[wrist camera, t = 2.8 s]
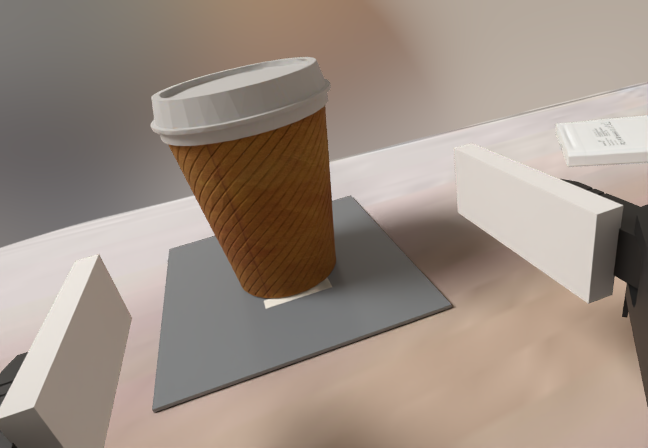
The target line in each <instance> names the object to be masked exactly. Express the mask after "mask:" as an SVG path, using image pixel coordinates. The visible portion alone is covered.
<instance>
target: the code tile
mask: <svg viewBox="0 0 648 448" xmlns="http://www.w3.org/2000/svg"><path fill="white" fill-rule="evenodd" d="M332 211H333V225H334V239H335V253H336V264H335V267H334V269H333V270H332V272H331V273H330V275H329V276H328V277H327V278H326V279H325V280H323V281H322V282H321V283H319V284H318V285H316V286H315V287H313V288H311V289H309V290H307V291H304V292H302V293H299V294H296V295H292V296H288V297H282V298H262V297H256V296H253V295H251V294H249V293H248V292H246V291H245V290H244V289H243V288H242V287H241V284H240V282H239V280H238V278H237V276H236V274H235V272H234V271H233V269H232V266H231V265H230V263H229V261H228V259H227V257H226V255H225V253H224V251H223V249H222V247H221V246H220V244H219V241H218V240H217V238H216V236H212V237H209V238H206V239H202V240H199V241H196V242H192V243H189V244H185V245H182V246H179V247H175V248H172V249H169V258H168V268H167V277H166V286H165V295H164V305H163V314H162V323H161V333H160V342H159V351H158V361H157V370H156V379H155V389H154V398H153V407H152V410H153V412H157V411H160V410H163V409H165V408H168V407H171V406H174V405H177V404H180V403H182V402H185V401H188V400H191V399H194V398H197V397H199V396H202V395H205V394H208V393H211V392H214V391H216V390H219V389H222V388H225V387H228V386H231V385H233V384H236V383H239V382H242V381H245V380H248V379H250V378H253V377H256V376H259V375H262V374H265V373H267V372H270V371H273V370H276V369H279V368H282V367H284V366H287V365H290V364H293V363H296V362H299V361H302V360H304V359H307V358H310V357H313V356H316V355H319V354H321V353H324V352H327V351H330V350H333V349H336V348H338V347H341V346H344V345H347V344H350V343H353V342H355V341H358V340H361V339H364V338H367V337H370V336H372V335H375V334H378V333H381V332H384V331H387V330H389V329H392V328H395V327H398V326H401V325H404V324H406V323H409V322H412V321H415V320H418V319H421V318H423V317H426V316H429V315H432V314H435V313H438V312H440V311H443V310H446V309H449V308H452V305H451V303H450V302H449V301H448V300H447V299H446V298H445V297H444V296H443V295H442V294H441V293H440V292H439V290H438V289H437V288H436V287H435V286H434V285H433V284H432V283H431V282H430V281H429V280H428V279H427V277H426V276H425V275H424V274H423V273H422V272H421V271H420V270H419V269H418V268H417V267H416V266H415V265H414V263H413V262H412V261H411V260H410V259H409V258H408V257H407V256H406V255H405V254H404V253H403V252H402V250H401V249H400V248H399V247H398V246H397V245H396V244H395V243H394V242H393V241H392V240H391V239H390V238H389V236H388V235H387V234H386V233H385V232H384V231H383V230H382V229H381V228H380V227H379V226H378V225H377V223H376V222H375V221H374V220H373V219H372V218H371V217H370V216H369V215H368V214H367V213H366V212H365V211H364V209H363V208H362V207H361V206H360V205H359V204H358V203H357V202H356V201H355V200H354V199H353V198H352V196H351V195H350V196H347V197H344V198H340V199H337V200H334V201H332Z"/></svg>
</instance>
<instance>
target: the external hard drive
mask: <svg viewBox="0 0 648 448" xmlns="http://www.w3.org/2000/svg"><path fill="white" fill-rule="evenodd" d="M555 133H556V136H557V139H558V141H559V144H560V146H562V153H563V155H564V158H565V161H566V164H567V167H581V166H600V165H619V164H639V163H648V115H643V116H633V117H622V118H612V119H601V120H591V121H580V122H568V123H557V124H556V130H555Z"/></svg>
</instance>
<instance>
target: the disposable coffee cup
mask: <svg viewBox="0 0 648 448" xmlns="http://www.w3.org/2000/svg"><path fill="white" fill-rule="evenodd" d="M329 90H330V82H329V81H328V80H326V79H324V77H323V75H322V72H321V70H320V67H319V65H318V63H317V60H316V59H315V58H311V57H299V58H287V59H279V60H274V61H267V62H262V63H257V64H252V65H247V66H243V67H238V68H233V69H229V70H225V71H221V72H217V73H213V74H209V75H205V76H202V77H199V78H195V79H192V80H189V81H186V82H183V83H180V84H177V85H174V86H172V87H169V88H166V89H164V90H162V91H159V92H158V93H156V94H154V95H153V96H152V105H153V112H154V121H152V123H151V128H152V130H153V131H154V132H156V133H158V134H159V135H160V137H161V139H162V141H163V142H164V143H166V144H168V145H169V147H170V149H171V151H172V152H173V155H174V156H175V158H176V160H177V162H178V164H179V166H180V169H181V170H182V172H183V174H184V176H185V178H186V180H187V182H188V184H189V185H190V187H191V190H192V191H193V193H194V195H195V197H196V199H197V201H198V203H199V205H200V206H201V209H202V211H203V213H204V214H205V217H206V219H207V220H208V222H209V224H210V226H211V228H212V230H213V232H214V234H215V236H216V238H217V240H218V241H219V244H220V246H221V247H222V249H223V251H224V253H225V255H226V257H227V259H228V261H229V263H230V265H231V266H232V269H233V271H234V272H235V274H236V276H237V278H238V280H239V282H240V284H241V287H242V288H243V289H244V290H245V291H246V292H248V293H249V294H251V295H253V296H256V297H262V298H282V297H288V296H292V295H296V294H299V293H302V292H304V291H307V290H309V289H311V288H313V287H315V286H316V285H318V284H319V283H321V282H322V281H323V280H325V279H326V278H327V277H328V276H329V275H330V273H331V272H332V270H333V269H334V267H335V264H336V253H335V239H334V225H333V211H332V196H331V182H330V168H329V152H328V140H327V128H326V114H325V105H326V103H327V102H328V96H327V92H328V91H329Z"/></svg>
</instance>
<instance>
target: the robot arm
mask: <svg viewBox="0 0 648 448" xmlns="http://www.w3.org/2000/svg"><path fill="white" fill-rule="evenodd" d="M454 161H455V176H456V191H457V205H458V213H459V214H461V215H462V216H464V217H465V218H466V219H468V220H469V221H471V222H472V223H474V224H475V225H476V226H478V227H479V228H481V229H482V230H484V231H485V232H487V233H488V234H489V235H491V236H492V237H494V238H495V239H497V240H498V241H499V242H501V243H502V244H504V245H505V246H507V247H508V248H509V249H511V250H512V251H514V252H515V253H517V254H518V255H519V256H521V257H522V258H524V259H525V260H527V261H528V262H529V263H531V264H532V265H534V266H535V267H537V268H538V269H539V270H541V271H542V272H544V273H545V274H547V275H548V276H550V277H551V278H552V279H554V280H555V281H557V282H558V283H560V284H561V285H562V286H564V287H565V288H567V289H568V290H570V291H571V292H572V293H574V294H575V295H577V296H578V297H580V298H581V299H582V300H584V301H585V302H587V303H588V304H589V303H592V302H594V301H597V300H599V299H602V298H605V297H607V296H610V295H612V292H613V285H614V277H615V276H616V277H618V278H620V279H621V280H623V281H625V282H626V283H627V286H626V293H625V300H624V307H623V314H622V317H627V316H628V312H629V316H630V321H631V326H632V331H633V336H634V341H635V346H636V351H637V356H638V361H639V366H640V371H641V376H642V381H643V386H644V391H645V396H646V401H647V406H648V205H645V206H642V207H639V206H637V205H634V204H632V203H629V202H627V201H624V200H622V199H619V198H617V197H614V196H612V195H609V194H607V193H606V194H604V192H602V191H599V190H597V189H592V187H589V186H587V185H584V184H582V183H579V182H575V181H570V180H564V179H558V178H556V177H553V176H551V175H548V174H546V173H544V172H541V171H539V170H536V169H534V168H531V167H529V166H527V165H524V164H522V163H519V162H517V161H514V160H512V159H510V158H507V157H505V156H502V155H500V154H497V153H495V152H493V151H490V150H488V149H485V148H483V147H480V146H478V145H476V144H473V143H470V144H466V145H463V146H460V147H456V148H454ZM131 320H132V317H131V315H130V313H129V311H128V309H127V307H126V305H125V303H124V302H123V300H122V298H121V296H120V294H119V292H118V290H117V288H116V286H115V284H114V282H113V280H112V278H111V276H110V274H109V273H108V271H107V269H106V267H105V265H104V263H103V261H102V259H101V257H100V255H99V254H97V255H94V256H90V257H87V258H84V259H80V260H77V261H75V262H74V264H73V266H72V268H71V270H70V272H69V274H68V276H67V278H66V280H65V282H64V284H63V286H62V288H61V290H60V291H59V293H58V295H57V297H56V299H55V301H54V303H53V305H52V307H51V309H50V311H49V313H48V315H47V317H46V319H45V321H44V323H43V324H42V326H41V328H40V330H39V332H38V334H37V336H36V338H35V340H34V342H33V344H32V346H31V348H30V350H29V352H26V353H23V354H20V355H17V356H16V357H15V358H14V359H13V360H12V361H11V362H10V363H9V364H8V365H7V366H6V367H5V369H4V370H3V371H2V372H1V373H0V448H104V444H105V440H106V435H107V431H108V426H109V421H110V417H111V412H112V408H113V403H114V398H115V394H116V389H117V385H118V380H119V375H120V371H121V366H122V362H123V357H124V352H125V348H126V343H127V338H128V334H129V329H130V325H131Z"/></svg>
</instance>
